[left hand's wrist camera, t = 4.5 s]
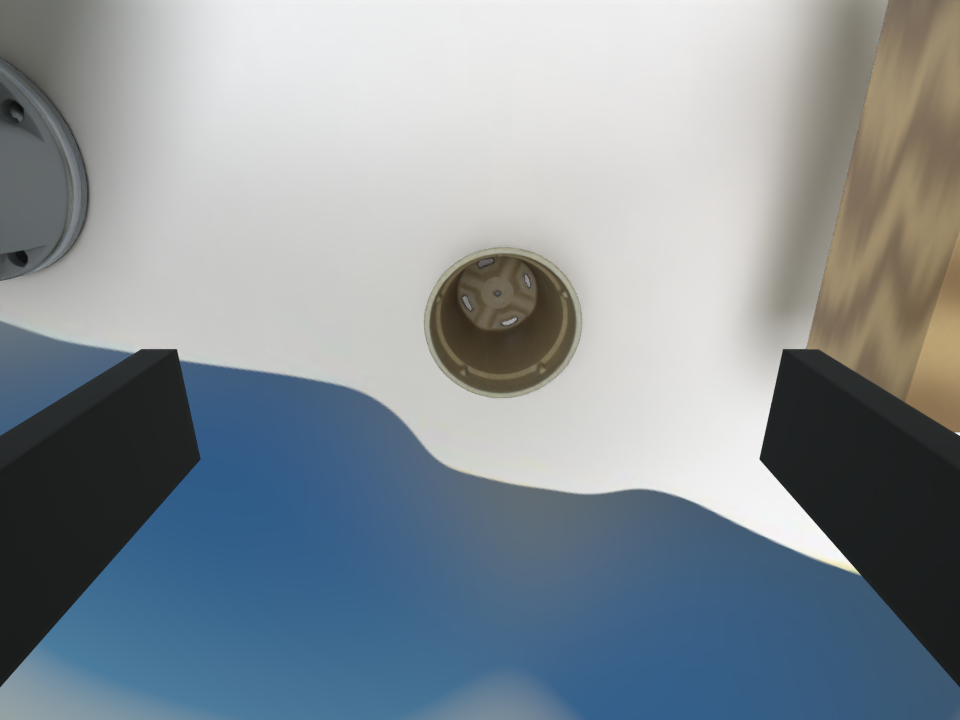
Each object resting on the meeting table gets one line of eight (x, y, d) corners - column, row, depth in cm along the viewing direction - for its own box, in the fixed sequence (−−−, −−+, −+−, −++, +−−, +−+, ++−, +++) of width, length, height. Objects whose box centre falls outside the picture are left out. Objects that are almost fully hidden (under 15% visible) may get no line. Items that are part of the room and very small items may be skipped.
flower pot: (498, 197, 39) (503, 212, 31) (587, 289, 41) (614, 326, 33) (408, 290, 41) (391, 327, 33) (497, 372, 43) (502, 425, 35)
